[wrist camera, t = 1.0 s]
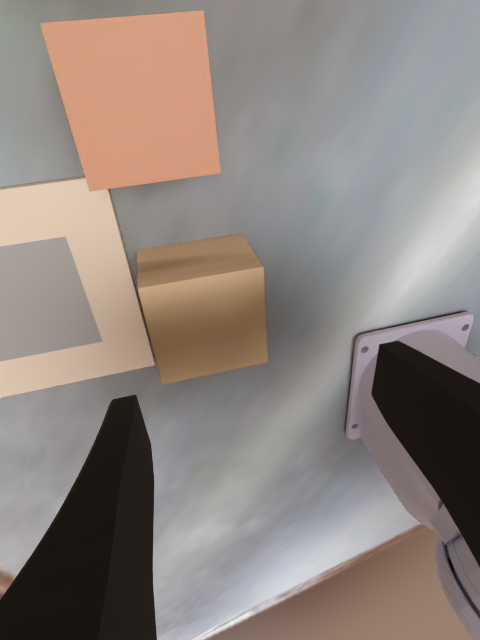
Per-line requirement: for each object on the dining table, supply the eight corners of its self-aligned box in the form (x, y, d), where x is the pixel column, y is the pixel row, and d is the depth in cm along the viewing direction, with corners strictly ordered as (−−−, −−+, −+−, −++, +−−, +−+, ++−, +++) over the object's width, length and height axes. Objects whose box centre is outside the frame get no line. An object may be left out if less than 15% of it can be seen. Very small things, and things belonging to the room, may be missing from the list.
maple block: (247, 317, 21) (268, 362, 18) (157, 335, 21) (162, 384, 17) (241, 232, 19) (263, 266, 15) (137, 248, 18) (137, 288, 15)
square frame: (154, 360, 21) (154, 365, 21) (-40, 400, 20) (-43, 406, 20) (104, 173, 16) (103, 175, 15) (-170, 210, 14) (-177, 213, 14)
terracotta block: (199, 147, 16) (220, 173, 12) (101, 160, 16) (89, 191, 11) (183, 28, 14) (203, 10, 10) (68, 38, 13) (40, 23, 9)
